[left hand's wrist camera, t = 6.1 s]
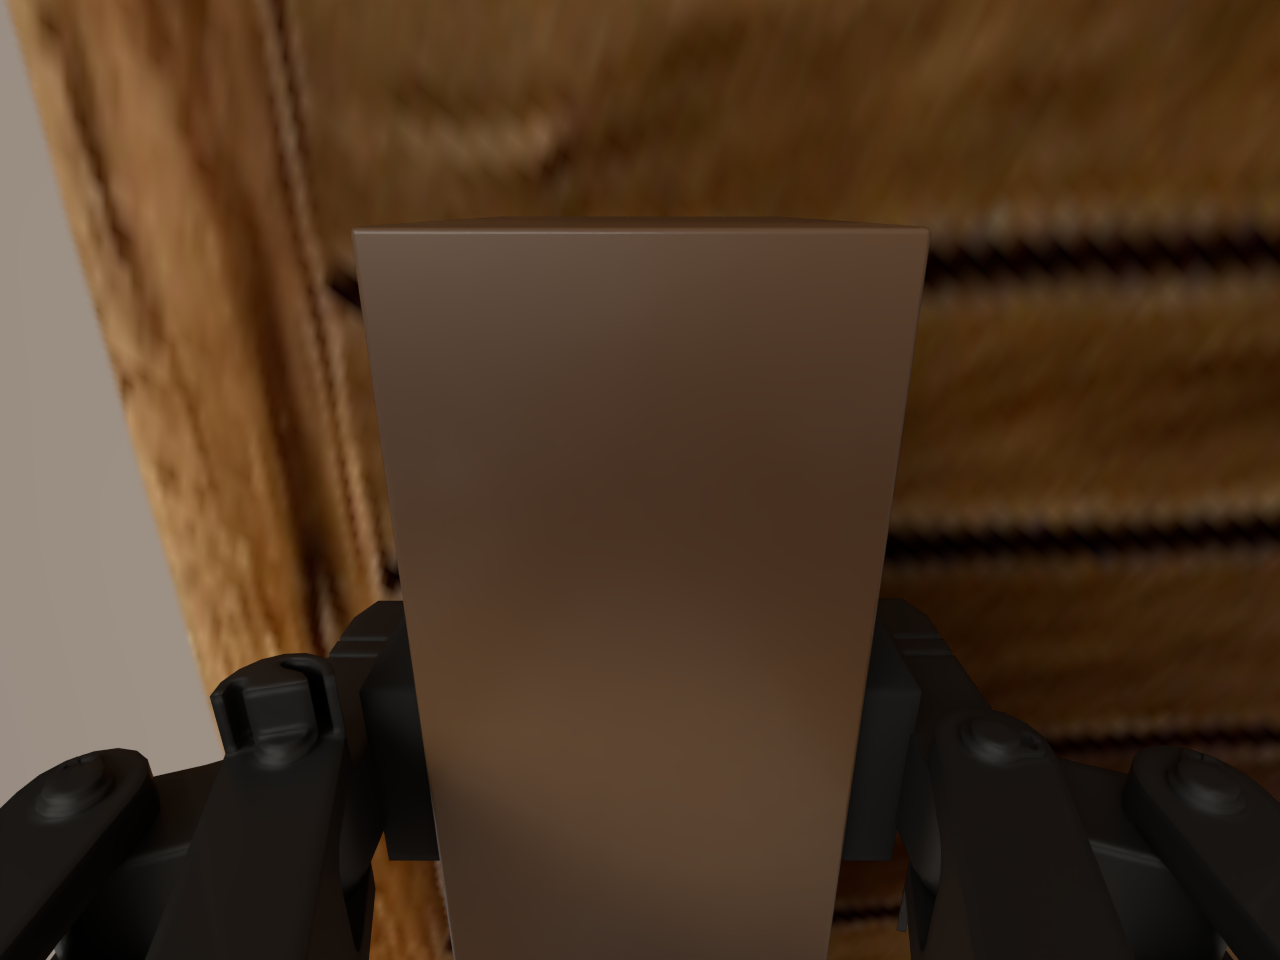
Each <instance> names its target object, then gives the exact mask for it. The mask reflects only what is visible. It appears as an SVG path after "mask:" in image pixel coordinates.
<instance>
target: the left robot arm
mask: <svg viewBox="0 0 1280 960" xmlns="http://www.w3.org/2000/svg"><path fill="white" fill-rule="evenodd" d="M340 638H341V639H340V641H338V642H337V643H336V645H335V646H334V647H333V649H332V650H331V652H330V653H329V658H326V659H325V658H323V657H320V656H316V655H312V654H308V653H295V654H282V655H278V656H274V657H270V658H266V659H261V660H259V661H257V662H255V663H252V664H250V665H248V666H245V667H243V668H241V669H239V670H237V671H236V672H235V673H233V674H232V675H230V676H229V677H228V678H226V679H225V680H223V681H222V682H221V683H220V684H219V685H218V687H217V688H216V689H215V690H214V692H213V693H212V694H211V696H210V699H211V703H212V706H213V710H214V714H215V717H216V721H217V725H218V728H219V732H220V735H221V739H222V743H223V746H224V750H225V757H224V759H223V760H221V761H218V762H214V763H211V764H207V765H203V766H199V767H194V768H190V769H185V770H181V771H177V772H172V773H168V774H163V775H159V776H154V777H153V774H152V771H151V768H150V765H149V762H148V759H146V758H145V757H144V756H143V755H141V754H140V753H139V752H138V751H135V750H128V749H121V748H115V749H108V750H101V751H94V752H91V753H88V754H84V755H81V756H79V757H75V758H73V759H70V760H67V761H65V762H63V763H61V764H59V765H57V766H55V767H53V768H51V769H50V770H48V771H46V772H44V773H42V774H40V775H39V776H37V777H36V778H35V779H33V780H32V781H31V782H30V783H28V784H27V785H26V786H24V787H23V788H22V789H21V790H19V791H18V792H17V793H16V794H15V795H14V796H13V797H12V798H10V799H9V800H8V801H7V802H6V803H5V804H4V805H3V806H2V807H1V808H0V960H46V959H47V957H48V956H49V955H50V953H51V952H52V951H53V949H54V950H55V952H56V953H55V954H54V956H53V957H52V958H51V960H369V952H370V941H371V930H372V920H373V909H374V899H375V882H374V876H373V870H372V865H371V860H372V858H373V855H374V853H375V850H376V848H377V845H378V843H379V841H380V838H381V836H382V833H383V831H384V834H385V840H386V845H387V851H388V857H389V860H440V858H439V851H438V843H437V836H436V829H435V822H434V815H433V808H432V801H431V794H430V787H429V780H428V773H427V766H426V759H425V752H424V745H423V738H422V731H421V723H420V716H419V709H418V702H417V695H416V688H415V681H414V674H413V667H412V660H411V653H410V646H409V639H408V632H407V625H406V618H405V611H404V603H403V601H377V602H376V603H374V604H373V605H372V606H370V607H369V608H367V609H366V610H364V611H363V612H362V613H360V614H359V615H357V616H356V617H354V619H353V620H352V622H351V623H350V624H349V626H348V627H347V629H346V630H345V632H344V633H343V635H342V636H341V637H340ZM897 829H898V831H899V834H900V836H901V839H902V841H903V843H904V846H905V848H906V851H907V853H908V855H909V858H910V860H909V865H908V870H907V875H906V881H905V886H904V891H903V896H902V901H901V907H900V912H899V917H898V924H897V931H901V932H906V928H907V923H908V929H909V939H910V950H911V960H1233V959H1232V957H1231V956H1230V955H1229V954H1228V952H1227V951H1226V949H1227V947H1228V946H1229V948H1230V949H1231V950H1232V952H1233V953H1234V954H1235V955H1236V957H1237V958H1238V959H1239V960H1280V803H1279V802H1278V801H1277V800H1276V799H1275V798H1274V797H1273V796H1271V795H1270V794H1269V793H1268V792H1267V791H1266V790H1265V789H1264V788H1263V787H1261V786H1260V785H1259V784H1257V783H1256V782H1255V781H1254V780H1252V779H1251V778H1250V777H1248V776H1247V775H1246V774H1244V773H1243V772H1242V771H1240V770H1238V769H1236V768H1234V767H1232V766H1230V765H1228V764H1226V763H1224V762H1222V761H1221V760H1219V759H1217V758H1215V757H1212V756H1209V755H1206V754H1203V753H1200V752H1197V751H1194V750H1191V749H1187V748H1180V747H1173V746H1165V745H1162V746H1155V747H1148V748H1144V749H1143V750H1141V751H1140V752H1139V753H1138V754H1136V755H1135V756H1134V758H1133V761H1132V764H1131V767H1130V770H1129V773H1128V774H1126V773H1121V772H1117V771H1112V770H1108V769H1103V768H1099V767H1094V766H1090V765H1085V764H1081V763H1076V762H1073V761H1069V760H1066V759H1062V758H1059V757H1056V755H1055V753H1054V752H1053V750H1052V749H1051V747H1050V746H1049V744H1048V743H1047V741H1046V740H1045V738H1044V737H1043V736H1042V735H1040V734H1039V733H1038V732H1037V731H1035V730H1034V729H1033V728H1032V727H1030V726H1029V725H1028V724H1026V723H1024V722H1022V721H1020V720H1018V719H1016V718H1014V717H1012V716H1010V715H1008V714H1006V713H1003V712H999V711H996V710H992V708H991V707H990V705H989V704H988V703H987V701H986V700H985V698H984V697H983V695H982V694H981V693H980V691H979V690H978V688H977V687H976V685H975V684H974V683H973V681H972V680H971V678H970V677H969V675H968V674H967V673H966V671H965V670H964V668H963V667H962V665H961V664H960V663H959V661H958V660H957V658H956V657H955V656H952V651H951V650H950V648H949V647H948V645H947V644H946V643H945V641H944V640H943V639H941V638H940V634H939V633H938V631H937V630H936V628H935V627H934V625H933V624H932V623H931V621H930V620H929V618H928V617H927V615H925V614H924V613H922V612H921V611H919V610H918V609H916V608H915V607H914V606H912V605H911V604H909V603H908V602H906V601H905V600H904V599H878V605H877V612H876V619H875V626H874V633H873V640H872V647H871V654H870V661H869V668H868V675H867V682H866V689H865V696H864V703H863V710H862V717H861V724H860V731H859V738H858V745H857V752H856V759H855V766H854V773H853V780H852V787H851V793H850V800H849V807H848V814H847V821H846V828H845V835H844V842H843V849H842V856H841V861H891V859H892V853H893V848H894V842H895V837H896V831H897Z"/></svg>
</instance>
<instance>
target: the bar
mask: <svg viewBox="0 0 1280 960" xmlns="http://www.w3.org/2000/svg"><path fill="white" fill-rule="evenodd" d="M351 236H352V244H353V251H354V258H355V265H356V272H357V279H358V286H359V293H360V300H361V307H362V314H363V321H364V328H365V335H366V342H367V349H368V356H369V364H370V371H371V378H372V385H373V392H374V399H375V406H376V413H377V420H378V427H379V434H380V441H381V448H382V455H383V462H384V469H385V476H386V484H387V491H388V498H389V505H390V512H391V519H392V526H393V533H394V540H395V547H396V554H397V561H398V568H399V575H400V582H401V589H402V596H403V603H404V611H405V618H406V625H407V632H408V639H409V646H410V653H411V660H412V667H413V674H414V681H415V688H416V695H417V702H418V709H419V716H420V723H421V731H422V738H423V745H424V752H425V759H426V766H427V773H428V780H429V787H430V794H431V801H432V808H433V815H434V822H435V829H436V836H437V843H438V851H439V858H440V865H441V872H442V879H443V886H444V893H445V900H446V907H447V914H448V921H449V928H450V935H451V942H452V949H453V956H454V960H827V954H828V947H829V940H830V933H831V926H832V919H833V912H834V905H835V898H836V891H837V884H838V877H839V870H840V863H841V856H842V849H843V842H844V835H845V828H846V821H847V814H848V807H849V800H850V793H851V787H852V780H853V773H854V766H855V759H856V752H857V745H858V738H859V731H860V724H861V717H862V710H863V703H864V696H865V689H866V682H867V675H868V668H869V661H870V654H871V647H872V640H873V633H874V626H875V619H876V612H877V605H878V598H879V591H880V584H881V578H882V571H883V564H884V557H885V550H886V543H887V536H888V529H889V522H890V515H891V508H892V501H893V494H894V487H895V480H896V473H897V466H898V459H899V452H900V445H901V438H902V431H903V424H904V417H905V410H906V403H907V396H908V389H909V382H910V376H911V369H912V362H913V355H914V348H915V341H916V334H917V327H918V320H919V313H920V306H921V299H922V292H923V285H924V278H925V271H926V264H927V257H928V250H929V243H930V236H931V233H930V229H928V228H926V227H920V226H906V225H891V224H876V223H861V222H846V221H832V220H817V219H802V218H787V217H491V218H476V219H461V220H446V221H432V222H417V223H402V224H387V225H372V226H358V227H355V228H353V229H352V232H351Z"/></svg>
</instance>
